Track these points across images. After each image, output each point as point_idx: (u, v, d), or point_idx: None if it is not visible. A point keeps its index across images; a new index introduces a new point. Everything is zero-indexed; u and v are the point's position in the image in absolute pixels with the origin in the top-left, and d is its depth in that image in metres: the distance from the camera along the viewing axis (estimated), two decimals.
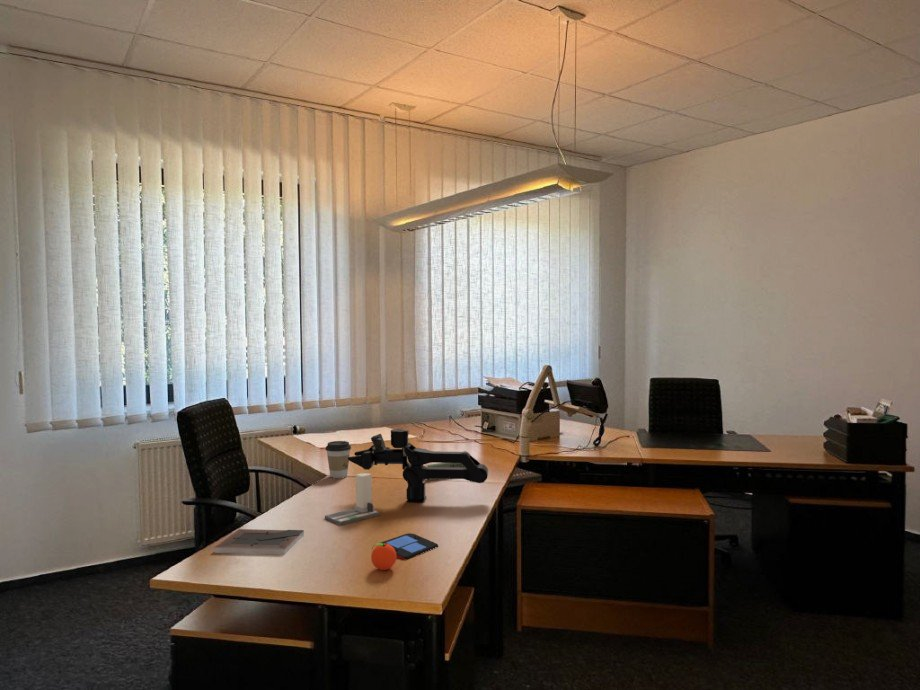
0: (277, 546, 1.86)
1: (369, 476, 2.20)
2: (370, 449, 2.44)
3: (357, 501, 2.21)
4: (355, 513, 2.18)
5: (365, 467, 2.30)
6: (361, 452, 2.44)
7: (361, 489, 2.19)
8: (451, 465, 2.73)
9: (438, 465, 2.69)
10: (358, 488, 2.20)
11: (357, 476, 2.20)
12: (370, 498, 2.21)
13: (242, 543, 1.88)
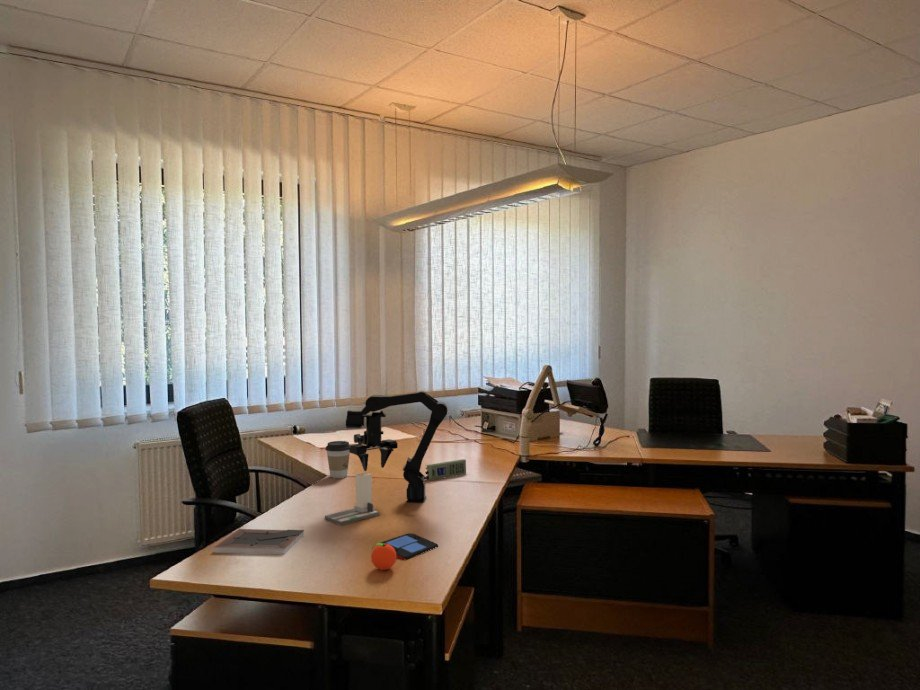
0: (277, 546, 1.86)
1: (369, 476, 2.20)
2: (381, 450, 2.41)
3: (357, 501, 2.21)
4: (355, 513, 2.18)
5: (356, 452, 2.29)
6: (381, 460, 2.40)
7: (361, 489, 2.19)
8: (451, 465, 2.73)
9: (438, 465, 2.70)
10: (358, 488, 2.20)
11: (357, 476, 2.20)
12: (370, 498, 2.21)
13: (242, 543, 1.89)
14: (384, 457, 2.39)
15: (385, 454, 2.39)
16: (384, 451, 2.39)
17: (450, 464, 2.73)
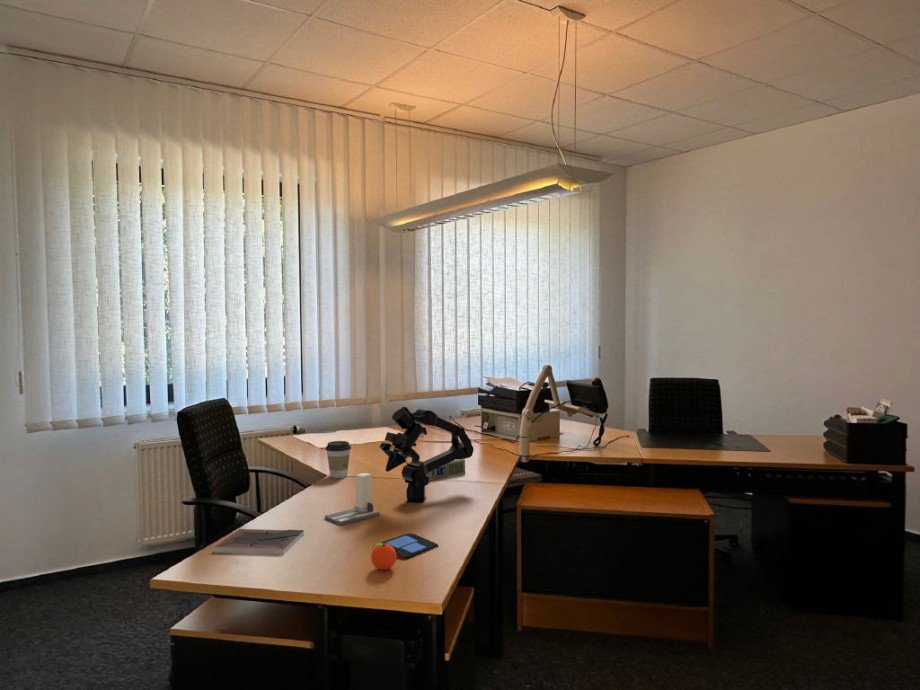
0: (276, 546, 1.86)
1: (369, 476, 2.20)
2: (392, 454, 2.30)
3: (357, 501, 2.21)
4: (355, 513, 2.18)
5: (417, 460, 2.26)
6: None
7: (361, 489, 2.19)
8: (450, 465, 2.74)
9: None
10: (358, 488, 2.20)
11: (357, 476, 2.20)
12: (370, 498, 2.21)
13: (242, 543, 1.89)
14: None
15: None
16: None
17: (449, 464, 2.74)
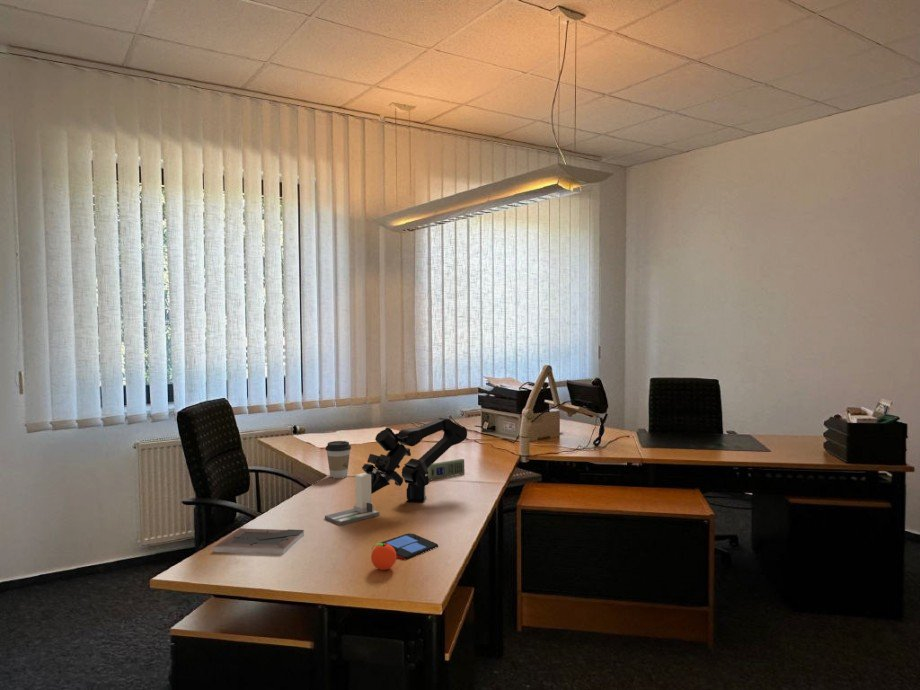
0: (276, 545, 1.86)
1: (368, 476, 2.20)
2: (375, 476, 2.25)
3: (356, 501, 2.20)
4: (355, 513, 2.18)
5: (400, 483, 2.20)
6: None
7: (360, 489, 2.18)
8: (449, 465, 2.74)
9: (437, 465, 2.70)
10: (357, 488, 2.20)
11: (356, 476, 2.20)
12: (369, 498, 2.20)
13: (242, 542, 1.89)
14: None
15: None
16: None
17: (449, 464, 2.74)
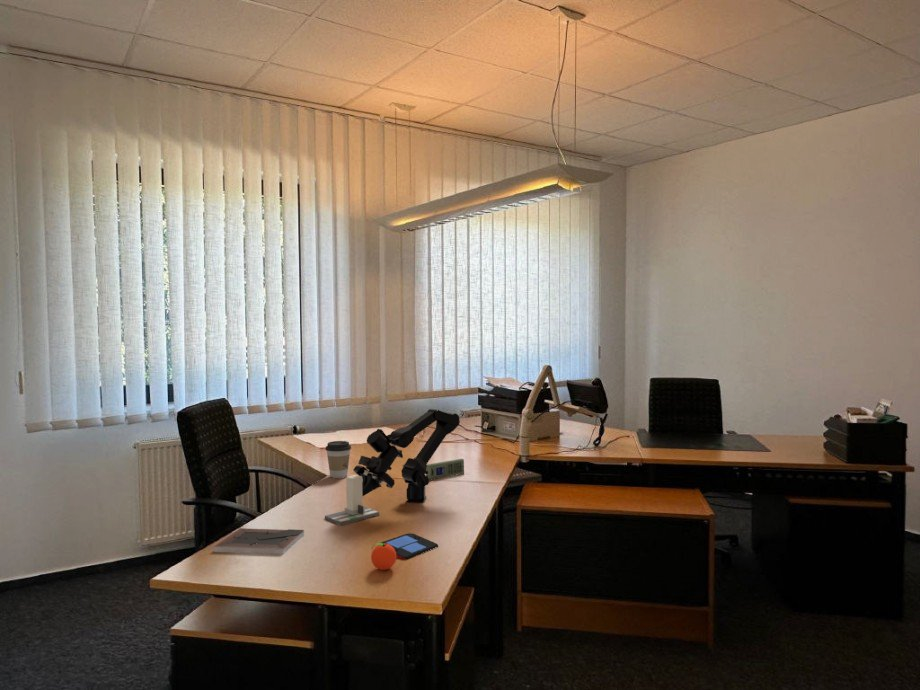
0: (276, 545, 1.86)
1: (360, 478, 2.17)
2: (366, 478, 2.22)
3: (347, 503, 2.18)
4: None
5: (392, 485, 2.18)
6: None
7: (351, 491, 2.16)
8: (449, 464, 2.74)
9: (437, 465, 2.70)
10: (348, 490, 2.17)
11: (347, 478, 2.17)
12: (361, 500, 2.18)
13: (242, 542, 1.89)
14: None
15: None
16: None
17: (449, 464, 2.74)
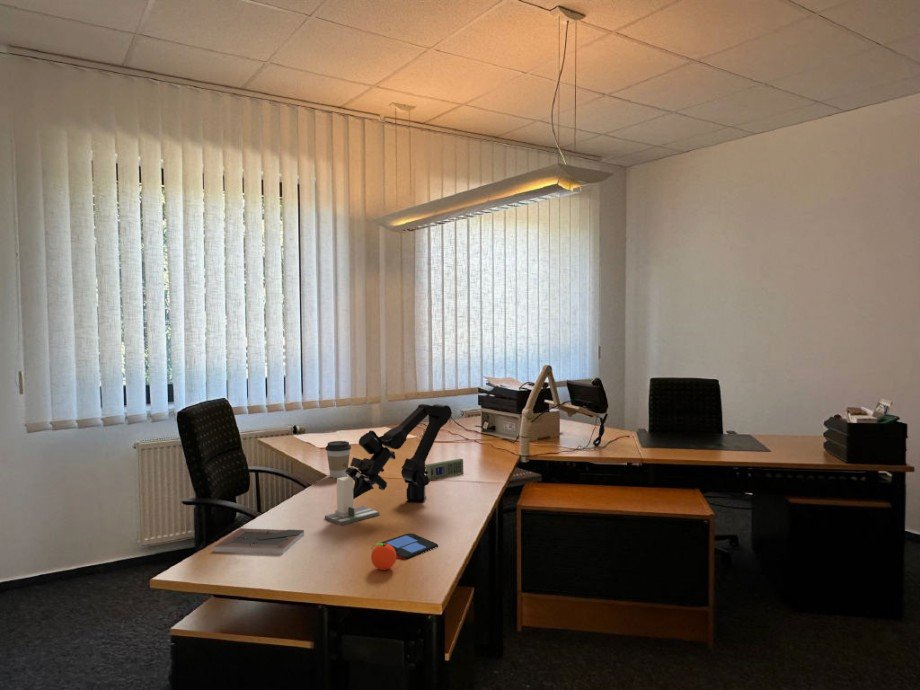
0: (276, 545, 1.86)
1: (350, 480, 2.15)
2: (358, 480, 2.20)
3: (338, 506, 2.15)
4: None
5: (384, 487, 2.16)
6: None
7: (342, 494, 2.13)
8: (449, 464, 2.75)
9: (436, 464, 2.70)
10: (339, 492, 2.15)
11: (338, 480, 2.15)
12: (351, 503, 2.15)
13: (242, 542, 1.89)
14: None
15: None
16: None
17: (448, 463, 2.74)
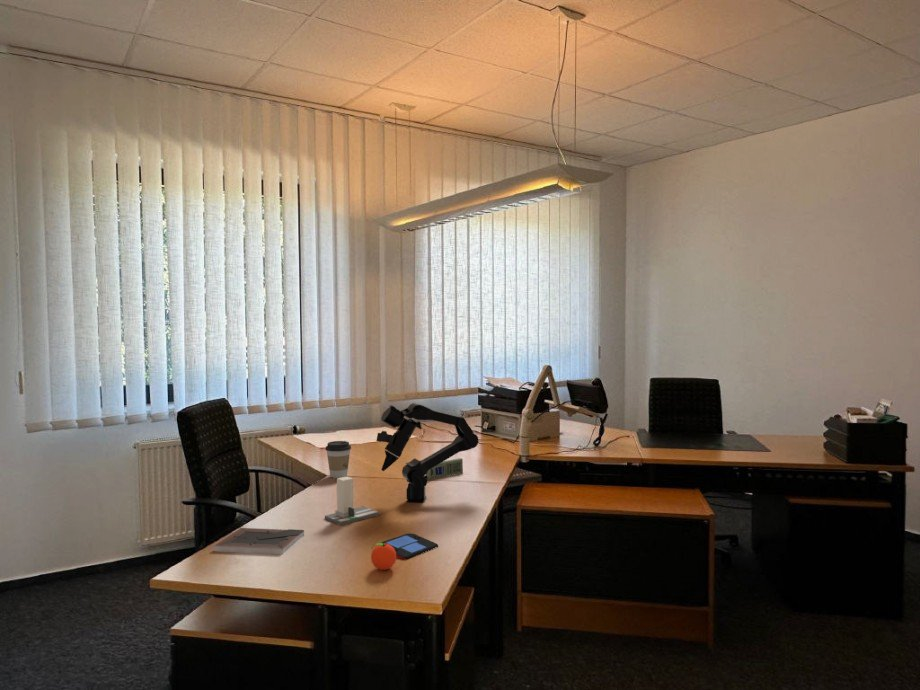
0: (275, 545, 1.86)
1: (350, 480, 2.15)
2: None
3: (338, 506, 2.15)
4: None
5: (398, 454, 2.24)
6: None
7: (342, 494, 2.13)
8: (448, 464, 2.75)
9: None
10: (339, 492, 2.15)
11: (338, 480, 2.15)
12: (351, 503, 2.15)
13: (241, 542, 1.89)
14: None
15: None
16: None
17: (448, 463, 2.75)
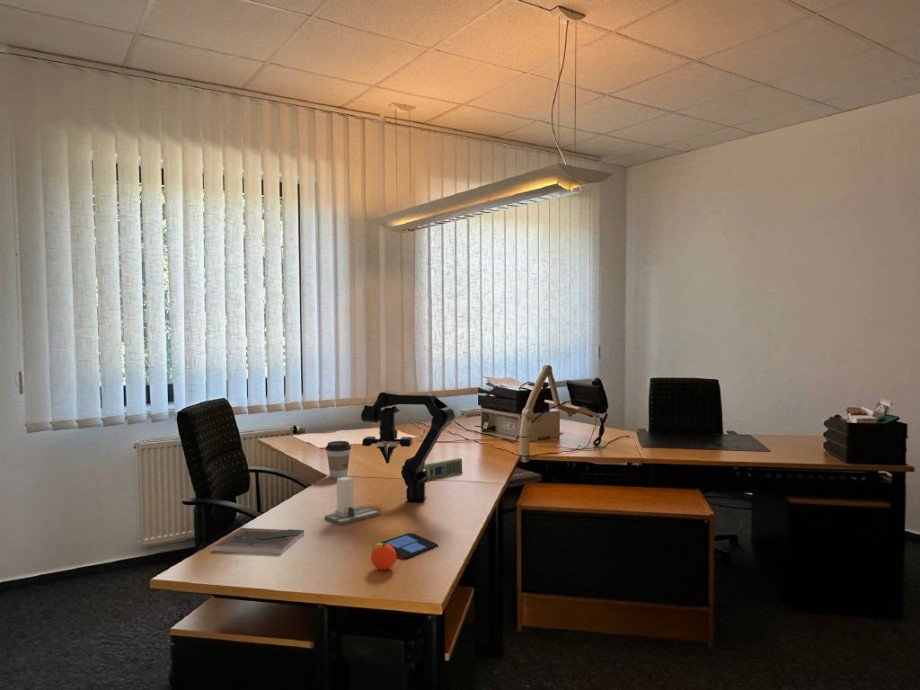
0: (275, 545, 1.86)
1: (350, 480, 2.15)
2: None
3: (338, 506, 2.15)
4: None
5: None
6: None
7: (342, 494, 2.13)
8: (448, 464, 2.75)
9: (436, 464, 2.71)
10: (339, 492, 2.15)
11: (338, 480, 2.15)
12: (351, 503, 2.15)
13: (241, 542, 1.89)
14: None
15: None
16: None
17: (447, 463, 2.75)
